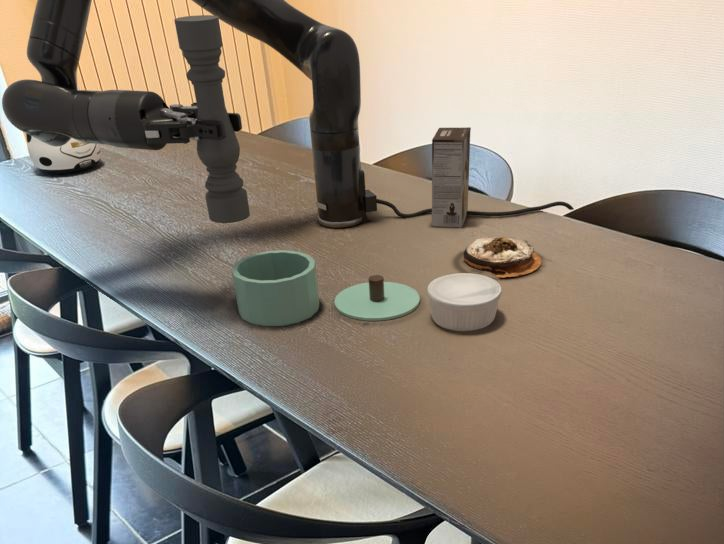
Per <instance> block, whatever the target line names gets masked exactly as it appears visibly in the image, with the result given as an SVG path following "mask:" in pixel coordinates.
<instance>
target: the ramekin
mask: <svg viewBox="0 0 724 544" xmlns="http://www.w3.org/2000/svg"><path fill="white" fill-rule="evenodd" d="M502 290H503V289H502V286H501V284H500V283H499V282H498V281H497V280H496V279H494V278H492V277H490V276H487V275H483V274H476V273H469V272H459V273H457V272H456V273H451V274H446V275H442V276H439V277H437V278H435V279H433V280H432V281H431V282H430V283H429V284H428V286H427V290H426V291H427V298H428V299H429V307H430V313H431V319H432V321H433V322H434V323H435V324H436V325H437V326H439V327H441V328H443V329H446V330H449V331H456V332H472V331H477V330H481V329H484V328H486V327H488V326H490V325H491V324H492V323H493V322H494V320H495V318H496V315H497V310H498V305H499V301H500V299H501V297H502V293H503V291H502Z"/></svg>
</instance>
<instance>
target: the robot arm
mask: <svg viewBox="0 0 724 544" xmlns="http://www.w3.org/2000/svg"><path fill="white" fill-rule="evenodd" d="M92 1H93V0H37V1H36V3H35V9H34V13H33V16H32V20H31V21H32V22H31V27H30V31H29V35H28V40H27V46H26V58H27V60H28V61H29V63H30V64H31V65H32V66H33V67H34V68H35V69H36V71H37V72H38V73H39V75H40V78H41V80H36V79H27V78H26V79H19V80H17V81H14V82H12V83H11V84H9V85H8V86H7V87H6V89H5V90H4V92H3V94H2V98H1V107H2V111H3V114H4V116H5V117H6V120H8V122H10V124H11V125H12V126H14V127H15V128H16V129H17V130H19V131H20V132H23V133H24V134H26V133H27V134H29V135H31V136H33V137H35V138H36V139H38V140H40V141H42V142H44V143H46V144H48V145H51V146H55V147H58V146H62V145H64V144H66V143H67V142H68V141H69V140H70V139H71V138H73V139H75V140H78V141H81V142H85V143H91V144H99V145H106V146H111V147H116V148H122V149H132V150H133V149H134V150H146V151H160V150H162V149H164V148H165V147H166V146H167V145H168V144H170V145H171V144H184V145H185V144H186V145H187V144H188V143H190V142H191V141H196V142H197V141H198V140H200V139H201V138H203V139H217V140H222V139H224V138H225V137H226V132H225V126H224V123H223V122H222V121H214V120H199V121H197V118H198V108H197V103H196V102H192V103H191V104H190V105H183V104H181V103H179V104H169V106H168V104H166V102H165V100H164V99H163V98H162V97H161V96H160V95H159V94H158V93H156V92H154V91H151V90H150V91H149V90H130V89H106V90H92V89H91V90H90V89H80V90H78V89H77V85H78V68H79V64H80V59H81V56H82V55H81V54H82V50H83V45H84V43H85V42H84V41H85V36H86V32H87V27H88V21H89V17H90V12H91V7H92ZM191 1H192V2H193V3H195V4H196V5H197V6H199V7H200V8H202V9H203V10H205V11H206V12H208V13H209V14H210V15H213V16H218V18H219V21H222V22H223V23H225V24H227V25H228V26H230V27H232V28H233V29H236V30H238V31H239V32H241V33H242V34H245V35H246V36H249V37H251V38H253V39H255V40H258V41H260V42H261V43H263V44H266V45H267V46H268V47H270V48H271V49H273V50H274V51H276V52H277V53H278V54H280V55H281V56H282V57H284V58H285V59H286V60H287V61H289V63H291V64H292V65H293V66H294V67H295V68H296V69H298V70H299V71H300V72H301V73H302V74H304V76H306V77H307V78H308V79H309V80H310V81H311V87H312V88H311V89H312V110H311V111H310V112H309V116H308V120H309V132H310V141H311V142H310V143H311V152H312V162H313V172H314V182H315V195H316V201H315V207H316V208H317V221H318V223H319V224H320V225H321V226H323V227H326V228H337V229H338V228H339V229H340V228H349V227H353V226H357V225H359V224H361V223H363V222H367V221H368V215H367V213H372V212H377V211H378V204H379V205H384V206H386V207H389V209H390V208H391V209H392V211H393V212H394V213H395V214H396V216H398V217H400V218H402V219H409V218H415V217H419V216H423V215H425V214H430V213H432V207H431V208H425V209H422V210H420V211H417V212H413V213H403V212H400V210H399V209H398V208H397V206H396V205H394V204H393V203H392V202H389V201H387V200H383V199H379V198H377V195H376V194H375V193H374V192H373V191H371V190H370V189H366V175H365V171H364V169H362V168H361V167H362V166H361V150H360V149H361V148H360V131H359V117H360V113H361V107H362V94H361V92H362V89H361V85H362V83H361V62H360V54H359V49H358V46H357V44H356V42H355V40H354V38H353V37H352V36H351V35H350V34H349V33H347V32H346V31H344V30H343V29H341V28H337V27H333V26H330V25H327V24H324V23H322V22H320V21H318V20H316V19H314V18H313V17H310V16H309V15H307V14H306V13H304V12H302V11H301V10H299V9H297V8H296V7H295V6H293V5H291V3H288V2H287V1H286V0H191ZM227 113H228V115H229V118H230V121H231V124H232V126H233V129H234V132H235V133H236V132H237V133H238V132H240V131H242V130H243V124H242V116H241V115H240V113H238V112H227ZM559 206H561V207H565V208H567V209H568V210H569V211H574V210H575V208H574V207H573V206H572V205H571V204H569V203H568V202H565V201H554V202H550V203H547V204H543V205H538V206H531V207H526V208H521V209H517V210H516V209H515V210H508V211H507V210H506V211H476V210H475V211H473V210H468V211H467V213H466V216H474V217H476V216H477V217H508V216H515V215H520V214H525V213H531V212H538V211H543V210H546V209H550V208H553V207H559Z"/></svg>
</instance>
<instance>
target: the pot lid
mask: <svg viewBox="0 0 724 544" xmlns="http://www.w3.org/2000/svg"><path fill="white" fill-rule="evenodd" d="M420 302H421V298H420V294H419V292H418V291H417V290H416V289H415V288H412V286H409V285H406V284H403V283H399V282H394V281H393V282H392V281H385V278H384V276H383V275H380V274H373V275H370V276H368V282H362V283H358V284H354V285H351V286H349V287H346V288H344V289H343V290H341V291H340V292H338V293H337V294H336V296H335V297H334V302H333V303H334V308H335V310H336V311H337V312H338V313H339V314H341V315H343V316H345V317H347V318H350V319H352V320H353V319H354V320H359V321H367V322H380V321H381V322H382V321H389V320H393V319H394V320H395V319H398V318H401V317H402V318H403V317H405V316H407V315H409V314H410V313H412V312H414V311H415V310H416V309H417V308H418V307H419V305H420Z"/></svg>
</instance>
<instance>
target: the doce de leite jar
mask: <svg viewBox="0 0 724 544" xmlns="http://www.w3.org/2000/svg"><path fill="white" fill-rule="evenodd" d="M77 89H78V90H81V88H80V87H79V86H78V84H77ZM25 137H26V146H27V147H26V148H27V152H28V155H29V158H30V160H31V162H32V163H33V165H34V166H35V167H36V169H37V170H39V171H42V172H45V173H51V174H67V173H74V172H79V171H83V170H87V169H90V168H91V167H94V166H96V165H97V164H98V163H99V162H100V161H101V158H102V152H101V144H91V143H85V142H81V141H78V140H75V139H73V138H71V139H70V140H69V141H68V142H67V143H66V144H64V145H62V146H58V147H55V146H51V145H48V144H46V143H44V142H42V141H40V140H38V139H36V138H35V137H33V136H31V135H29V134H27V133H25Z"/></svg>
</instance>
